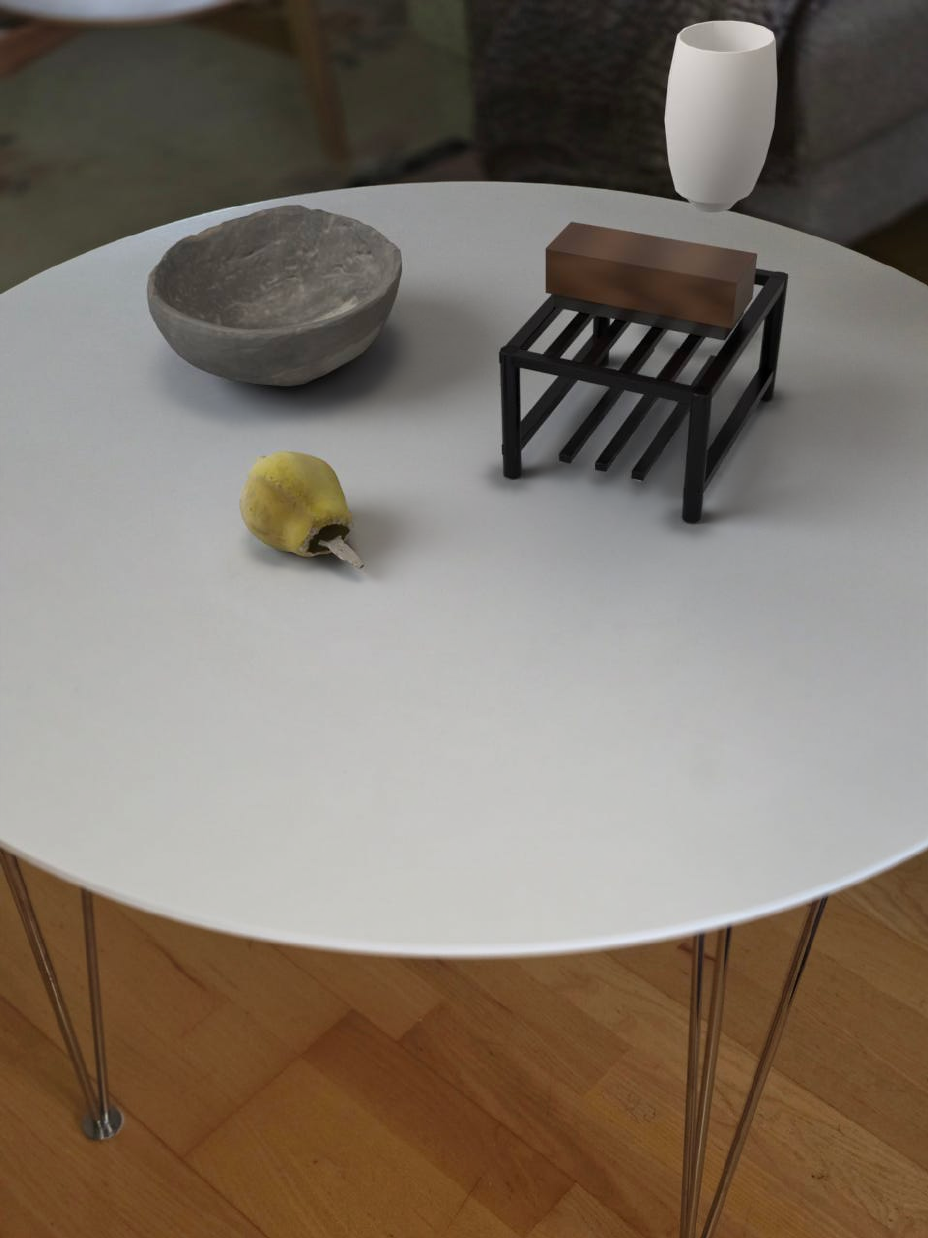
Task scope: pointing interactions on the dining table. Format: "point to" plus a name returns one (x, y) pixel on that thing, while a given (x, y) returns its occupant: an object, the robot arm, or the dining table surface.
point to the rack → (642, 388)
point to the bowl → (275, 294)
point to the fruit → (297, 506)
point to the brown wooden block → (650, 279)
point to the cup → (720, 111)
